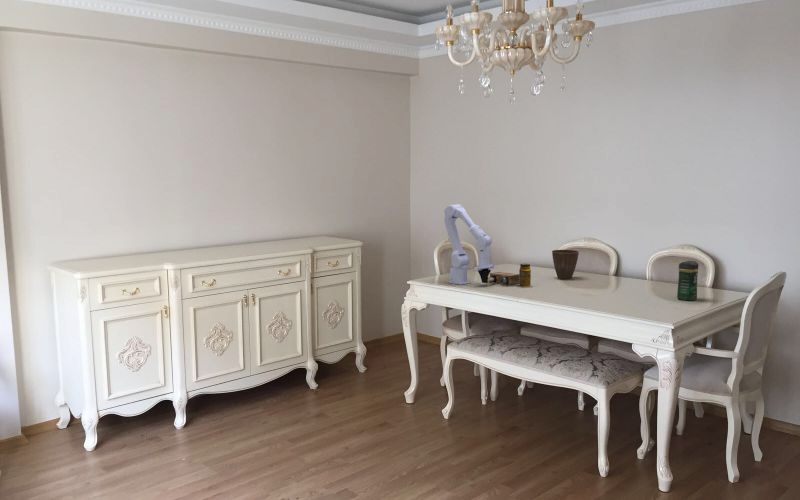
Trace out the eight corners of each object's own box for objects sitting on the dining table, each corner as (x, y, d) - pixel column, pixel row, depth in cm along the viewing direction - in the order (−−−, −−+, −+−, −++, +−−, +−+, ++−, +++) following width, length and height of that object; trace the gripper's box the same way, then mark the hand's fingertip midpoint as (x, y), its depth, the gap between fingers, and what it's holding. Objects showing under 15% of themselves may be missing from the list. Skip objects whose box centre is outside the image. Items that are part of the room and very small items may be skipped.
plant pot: (583, 279, 382) (584, 251, 380) (565, 281, 373) (566, 253, 371) (563, 276, 394) (564, 249, 392) (546, 278, 385) (546, 251, 384)
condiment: (534, 286, 360) (534, 264, 359) (522, 288, 355) (522, 265, 354) (524, 284, 366) (524, 262, 365) (513, 286, 362) (513, 264, 360)
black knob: (500, 283, 362) (500, 277, 362) (510, 281, 368) (510, 275, 368) (505, 284, 360) (505, 278, 360) (515, 282, 366) (515, 276, 366)
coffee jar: (691, 301, 313) (693, 262, 311) (674, 299, 319) (676, 261, 317) (699, 298, 320) (701, 260, 318) (682, 296, 326) (684, 259, 324)
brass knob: (484, 283, 365) (484, 276, 365) (493, 281, 371) (494, 275, 371) (488, 283, 363) (488, 277, 362) (498, 281, 369) (498, 275, 368)
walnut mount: (489, 283, 371) (489, 273, 370) (498, 281, 376) (498, 271, 376) (510, 286, 361) (510, 275, 360) (519, 284, 366) (519, 274, 366)
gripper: (481, 259, 353) (481, 285, 355) (498, 257, 363) (498, 281, 365) (471, 258, 358) (471, 283, 360) (488, 256, 368) (488, 280, 370)
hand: (484, 282), depth 363 cm, fingers closed
